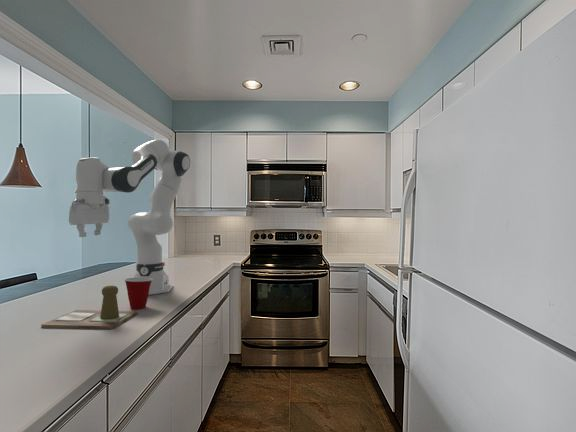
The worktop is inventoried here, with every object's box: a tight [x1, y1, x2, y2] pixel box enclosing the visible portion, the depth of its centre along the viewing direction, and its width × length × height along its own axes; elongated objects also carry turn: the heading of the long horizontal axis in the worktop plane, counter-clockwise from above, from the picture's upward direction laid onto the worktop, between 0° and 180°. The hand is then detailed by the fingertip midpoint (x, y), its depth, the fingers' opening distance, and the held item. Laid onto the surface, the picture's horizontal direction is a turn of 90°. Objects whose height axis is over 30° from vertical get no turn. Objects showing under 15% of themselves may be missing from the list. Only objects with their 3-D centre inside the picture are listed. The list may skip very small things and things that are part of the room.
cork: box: [100, 285, 120, 320], centre depth 124 cm, size 6×6×11 cm
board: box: [40, 309, 139, 330], centre depth 124 cm, size 18×24×1 cm
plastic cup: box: [124, 277, 153, 310], centre depth 142 cm, size 11×11×12 cm
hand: (90, 236), depth 133 cm, fingers open, 8 cm apart
